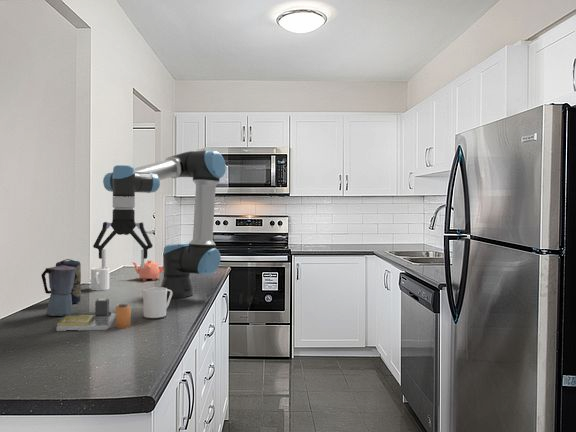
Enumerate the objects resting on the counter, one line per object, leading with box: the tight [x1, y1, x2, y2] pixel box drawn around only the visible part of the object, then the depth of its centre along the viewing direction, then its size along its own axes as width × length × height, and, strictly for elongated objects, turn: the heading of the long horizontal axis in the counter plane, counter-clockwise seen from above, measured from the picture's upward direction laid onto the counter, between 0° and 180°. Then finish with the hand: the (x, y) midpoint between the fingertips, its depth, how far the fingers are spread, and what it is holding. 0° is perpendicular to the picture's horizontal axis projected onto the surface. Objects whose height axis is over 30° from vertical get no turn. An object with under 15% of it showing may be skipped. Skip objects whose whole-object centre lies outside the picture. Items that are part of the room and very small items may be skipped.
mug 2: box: [142, 286, 172, 320], centre depth 189 cm, size 11×9×10 cm
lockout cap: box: [115, 303, 132, 329], centre depth 175 cm, size 5×5×8 cm
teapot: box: [130, 260, 163, 282], centre depth 267 cm, size 14×12×10 cm
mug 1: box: [90, 266, 110, 292], centre depth 237 cm, size 8×12×10 cm
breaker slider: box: [94, 298, 110, 316], centre depth 182 cm, size 4×4×6 cm
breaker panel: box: [56, 311, 116, 332], centre depth 177 cm, size 16×17×3 cm
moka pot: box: [41, 260, 76, 317], centre depth 189 cm, size 10×15×20 cm, turn 161°
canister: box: [55, 258, 82, 304], centre depth 209 cm, size 10×10×18 cm
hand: (123, 267), depth 183 cm, fingers open, 13 cm apart
